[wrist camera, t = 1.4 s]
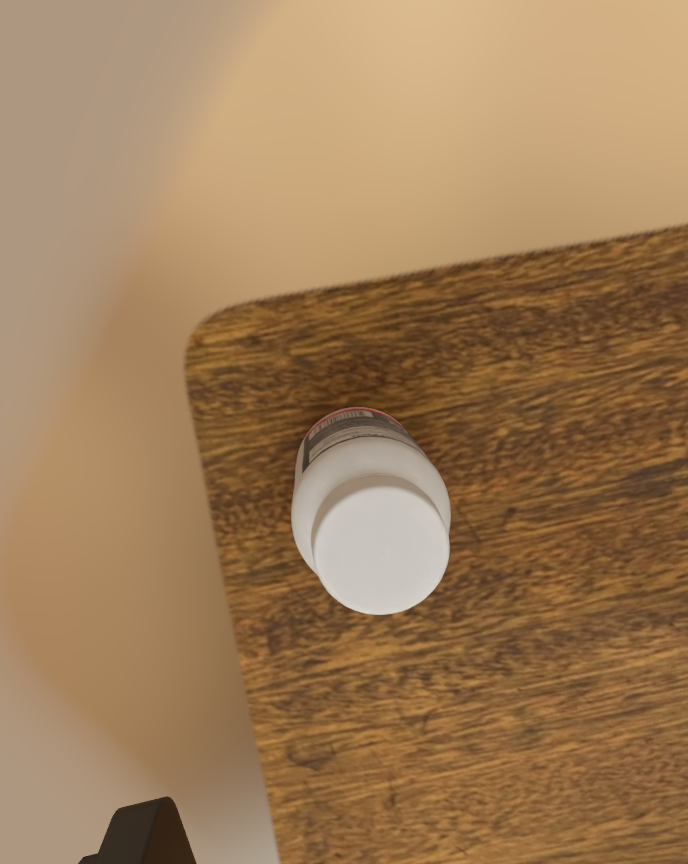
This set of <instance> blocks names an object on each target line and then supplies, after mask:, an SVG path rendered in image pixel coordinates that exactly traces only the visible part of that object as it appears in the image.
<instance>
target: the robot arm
mask: <svg viewBox="0 0 688 864" xmlns="http://www.w3.org/2000/svg"><path fill="white" fill-rule="evenodd" d="M78 864H196V861H195V858H194V856H193V853H192V850H191V847H190V844H189V841H188V838H187V836H186V833H185V830H184V827H183V824H182V821H181V819H180V816H179V813H178V810H177V807H176V805H175V803H174V801H173V800H172V799H171V798H170V797H163V798H159V799H155V800H150V801H146V802H142V803H139V804H134V805H130V806H126V807H122V808H119V809H118V810H117V811H116V812H115V813H114V815H113V817H112V819H111V822H110V824H109V827H108V829H107V832H106V835H105V837H104V840H103V842H102V845H101V847H100V850H99V852H98V854H94V855H90V856H85V857H83V858H82V860H81V861H80V862H79V863H78Z"/></svg>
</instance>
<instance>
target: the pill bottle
mask: <svg viewBox="0 0 688 864" xmlns="http://www.w3.org/2000/svg"><path fill="white" fill-rule="evenodd" d="M450 521H451V512H450V501H449V496H448V493H447V490H446V487H445V484H444V482H443V480H442V478H441V476H440V474H439V472H438V471H437V469H436V468H435V466H434V465H433V464H432V463H431V461H430V460H429V459H428V457H427V456H426V455H425V453H424V452H423V451H422V450H421V448H420V447H419V445H418V444H417V442H416V441H415V440H414V439H413V438H412V436H411V435H410V434H409V433H408V432H407V431H406V429H405V428H404V427H403V426H402V425H401V424H400V423H399V422H398V421H396V420H395V419H394V418H392V417H391V416H389V415H387V414H385V413H383V412H381V411H379V410H375V409H371V408H366V407H349V408H344V409H340V410H337V411H334V412H333V413H330V414H328V415H327V416H325V417H323V418H322V419H321V420H319V421H318V422H317V423H316V424H315V425H314V426H313V427H312V428H311V429H310V430H309V431H308V433H307V434H306V436H305V437H304V439H303V441H302V443H301V446H300V448H299V451H298V455H297V460H296V467H295V478H294V492H293V498H292V504H291V523H292V529H293V535H294V539H295V542H296V545H297V547H298V550H299V552H300V554H301V555H302V557H303V558H304V560H305V561H306V563H307V564H308V566H309V567H310V568H311V569H312V570H313V571H314V572H315V573H316V574H317V575H318V577H319V579H320V581H321V582H322V584H323V586H324V587H325V588H326V590H327V591H328V592H329V594H330V595H331V596H332V597H334V598H335V599H336V600H337V601H339V602H340V603H342V604H343V605H345V606H346V607H348V608H351V609H353V610H355V611H358V612H362V613H366V614H374V615H386V614H391V613H397V612H400V611H404V610H407V609H409V608H411V607H413V606H415V605H416V604H418V603H420V602H421V601H422V600H424V599H425V598H426V597H427V596H428V595H429V594H430V593H431V592H432V591H433V590H434V589H435V588H436V586H437V585H438V584H439V582H440V580H441V579H442V577H443V574H444V572H445V570H446V567H447V564H448V559H449V550H450V546H449V537H448V534H449V529H450Z"/></svg>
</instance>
